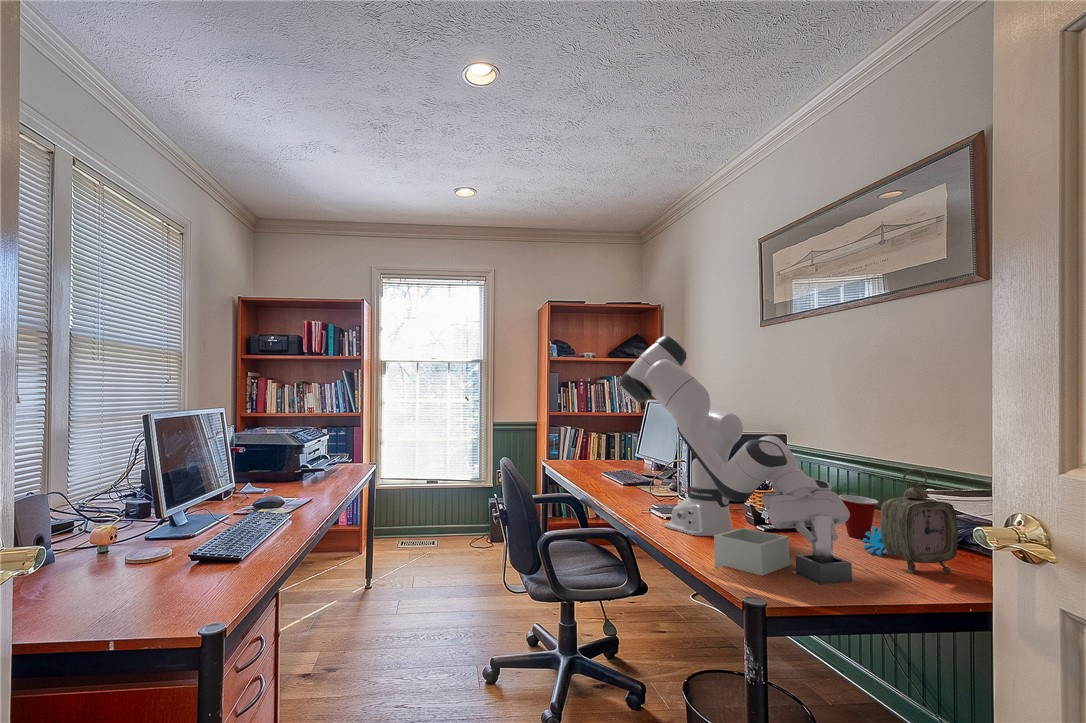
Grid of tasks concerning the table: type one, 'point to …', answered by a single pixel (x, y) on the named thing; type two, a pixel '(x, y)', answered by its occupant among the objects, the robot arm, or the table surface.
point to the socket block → (824, 570)
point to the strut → (822, 538)
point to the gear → (875, 542)
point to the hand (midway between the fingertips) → (824, 540)
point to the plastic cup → (859, 515)
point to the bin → (751, 551)
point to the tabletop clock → (919, 527)
